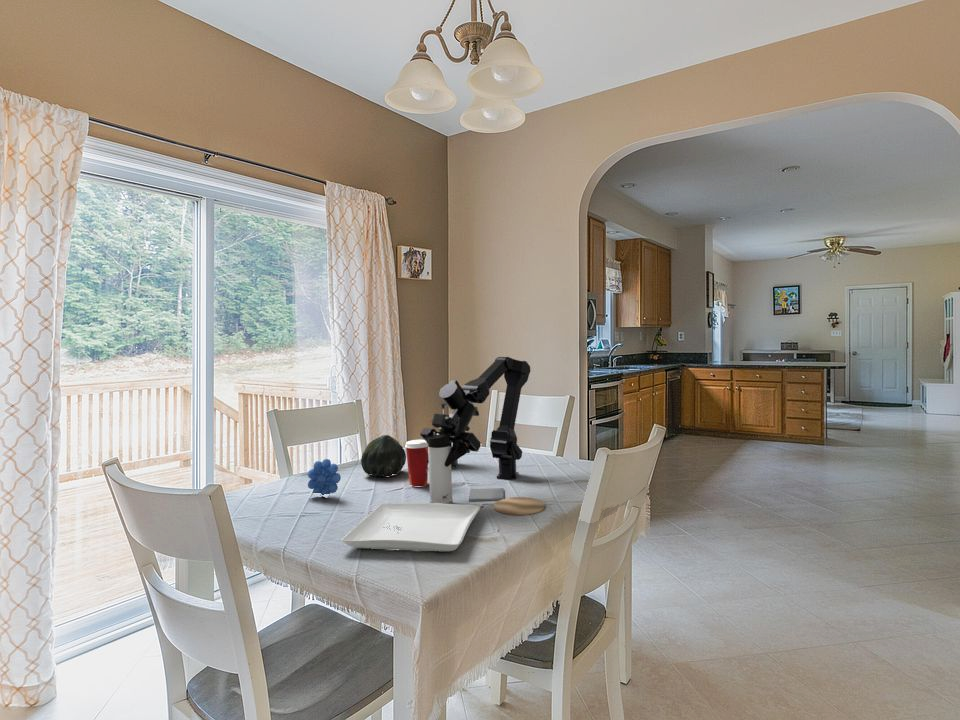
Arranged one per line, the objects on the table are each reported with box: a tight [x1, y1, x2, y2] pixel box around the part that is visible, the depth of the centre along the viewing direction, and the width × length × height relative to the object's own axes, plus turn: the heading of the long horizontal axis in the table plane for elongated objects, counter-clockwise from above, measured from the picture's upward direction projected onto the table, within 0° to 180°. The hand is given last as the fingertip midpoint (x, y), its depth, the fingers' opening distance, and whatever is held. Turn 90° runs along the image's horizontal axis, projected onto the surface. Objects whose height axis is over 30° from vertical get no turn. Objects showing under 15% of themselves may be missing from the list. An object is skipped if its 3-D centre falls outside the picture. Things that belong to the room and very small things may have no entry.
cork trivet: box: [493, 496, 546, 516], centre depth 145 cm, size 14×14×1 cm
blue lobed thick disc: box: [307, 458, 341, 495], centre depth 160 cm, size 12×7×12 cm, turn 69°
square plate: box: [340, 502, 481, 552], centre depth 128 cm, size 27×27×4 cm
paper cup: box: [404, 439, 429, 487], centre depth 170 cm, size 8×8×14 cm
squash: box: [360, 434, 407, 477], centre depth 184 cm, size 14×15×15 cm
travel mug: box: [428, 433, 453, 504], centre depth 149 cm, size 6×7×20 cm
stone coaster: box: [468, 487, 505, 502], centre depth 156 cm, size 10×10×1 cm
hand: (436, 464), depth 148 cm, fingers closed on travel mug, 6 cm apart
